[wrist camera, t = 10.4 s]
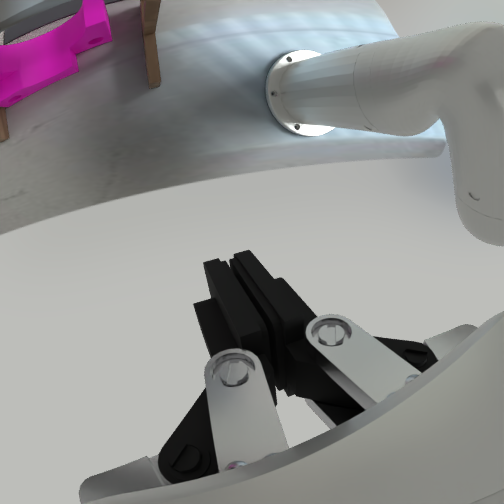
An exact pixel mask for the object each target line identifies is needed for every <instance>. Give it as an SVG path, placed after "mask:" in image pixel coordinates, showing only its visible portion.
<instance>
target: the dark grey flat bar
mask: <svg viewBox="0 0 504 504" xmlns="http://www.w3.org/2000/svg"><path fill="white" fill-rule="evenodd" d="M117 1H121V0H104V3H105V4H109V3H113V2H117ZM82 3H83V0H71V1H68V2H65V3H63V4H60V5H57V6H55V7H52V8H50V9H47V10H45V11H43V12H40V13H38V14H36V15H34V16H32V17H29V18H27V19H25V20H23V21H21V22H19V23H17V24H15V25H13V26H11V27H10V28H8V29H6V30H5V38H4V44H7V43H9V42H11V41H13V40H15V39H17V38H19V37H20V36H23V35H25V34H27V33H29V32H31V31H33V30H35V29H37V28H40V27H42V26H44V25H47V24H49V23H51V22H54V21H56V20H59V19H62V18H64V17H67V16H70V15H73V14H76V13H77V12H78V11H79V10H80V8H81V6H82Z"/></svg>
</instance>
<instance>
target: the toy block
mask: <svg viewBox="0 0 504 504" xmlns="http://www.w3.org/2000/svg"><path fill="white" fill-rule="evenodd" d="M110 41H112V36H111V30H110V24H109V17H108V14H107V10H106V7H105V3H104V0H83V3H82V6H81V8H80V10H79V11H78V12H77V13H76V14H75V15H74V16H73V17H72V18H71V19H70V20H68V21H67V22H65V23H64V24H62V25H61V26H59V27H57V28H56V29H54V30H52V31H50V32H48V33H46V34H43V35H41V36H39V37H36V38H34V39H31V40H28V41H25V42H21V43H17V44H12V45H0V107H10V106H11V105H13V104H15V103H16V102H18V101H20V100H22V99H23V98H25V97H27V96H29V95H31V94H32V93H34V92H36V91H38V90H40V89H42V88H44V87H46V86H48V85H50V84H52V83H54V82H56V81H58V80H60V79H62V78H65V77H67V76H69V75H71V74H74V73H76V72H78V71H79V69H78V64H77V58H76V54H78V53H80V52H83V51H85V50H88V49H90V48H93V47H96V46H98V45H101V44H104V43H107V42H110Z"/></svg>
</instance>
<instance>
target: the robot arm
mask: <svg viewBox="0 0 504 504" xmlns="http://www.w3.org/2000/svg"><path fill="white" fill-rule="evenodd" d="M286 59H287V60H288V61H287V60H286ZM265 90H266V99H267V102H268V106H269V108H270V110H271V112H272V114H273V115H274V117H275V118H276V120H277V121H278V122H279V123H280V124H281V125H282V126H283V127H285V128H286V129H288V130H289V131H291V132H293V133H296V134H299V135H303V136H319V135H322V134H325V133H327V132H329V131H331V130H332V129H333V128H334V127H337V128H346V129H355V130H363V131H370V132H377V133H383V134H390V135H396V136H413V135H417V134H420V133H422V132H424V131H425V130H427V129H428V128H430V127H431V126H432V125H433V124H434V123H435V122H436V121H437V120H438V119H439V118H440V119H441V121H442V124H443V126H444V130H445V134H446V139H447V143H448V146H449V152H450V158H451V165H452V173H453V182H454V191H455V199H456V206H457V210H458V214H459V217H460V219H461V221H462V223H463V225H464V226H465V228H466V229H467V230H468V231H469V232H470V233H471V234H472V235H473V236H475V237H476V238H478V239H479V240H481V241H483V242H486V243H489V244H492V245H497V246H504V25H502V24H499V23H494V22H473V23H465V24H460V25H456V26H452V27H447V28H443V29H439V30H436V31H432V32H426V33H422V34H418V35H413V36H408V37H402V38H396V39H391V40H385V41H379V42H374V43H369V44H364V45H359V46H354V47H350V48H345V49H341V50H337V51H333V52H329V53H325V54H320V53H317V52H314V51H309V50H297V51H293V52H290V53H288V54H285V55H284V56H282V57H281V58H279V59H278V60H277V61H276V62H275V63H274V64H273V66H272V67H271V69H270V71H269V73H268V76H267V79H266V87H265ZM271 92H272V93H273V96H272V95H271ZM294 126H295V128H294ZM229 262H230V267H229V265H228V264H227V262H226V261H222V262H221V261H220V260H219V258H217V259H214V260H211V261H207V262H204V263H203V264H204V269H205V274H206V278H207V282H208V286H209V291H210V295H211V299H208V300H204V301H201V302H197V303H194V304H193V305H194V308H195V312H196V315H197V318H198V322H199V325H200V328H201V331H202V334H203V337H204V340H205V343H206V346H207V349H208V351H209V354H210V357H211V359H210V360H209V361H208V363H207V365H206V367H205V372H204V373H205V374H204V376H205V384H206V388H205V389H204V391H203V392H202V393H201V395H200V396H199V398H198V399H197V400H196V402H195V403H194V405H193V406H192V408H191V409H190V411H189V412H188V413H187V415H186V416H185V417H184V419H183V420H182V421H181V423H180V424H179V426H178V427H177V428H176V430H175V431H174V432H173V434H172V435H171V437H170V438H169V439H168V441H167V442H166V443H165V445H164V446H163V447H162V449H161V451H160V453H159V454H158V455H156V456H154V457H152V458H148V457H147V456H145V457H143V458H140V459H138V460H136V461H133V462H131V463H128V464H125V465H123V466H120V467H117V468H114V469H112V470H109V471H106V472H103V473H100V474H97V475H94V476H91V477H89V478H87V479H86V480H85V481H84V482H83V483H82V484H81V486H80V490H79V497H80V502H81V504H504V311H503V312H501V313H499V314H497V315H495V316H494V317H492V318H490V319H489V320H487V321H486V322H485V323H484V324H482V325H481V326H480V327H479V328H477V327H475V326H473V325H468V324H465V325H461V326H458V327H456V328H454V329H451V330H449V331H447V332H444V333H442V334H439V335H437V336H434V337H432V338H429V339H426V340H424V343H423V344H422V343H419V342H414V341H405V340H397V339H389V338H381V337H374V336H371V335H370V334H369V333H367V332H366V331H365V330H363V329H362V328H361V327H359V326H358V325H356V324H355V323H354V322H352V321H351V320H350V319H348V318H346V317H344V316H340V315H334V314H329V315H322V316H319V317H317V316H316V315H315V314H314V312H313V311H312V310H311V309H310V308H309V307H308V306H307V305H306V303H305V302H304V301H303V300H302V299H301V298H300V297H299V296H298V295H297V293H296V292H295V291H294V290H293V289H292V288H291V287H290V286H289V284H288V283H287V282H286V281H285V280H284V279H283V278H277V279H274V278H273V277H272V276H271V275H270V274H269V272H268V271H267V270H266V269H265V268H264V266H263V265H262V264H261V263H260V262H259V260H258V259H257V258H256V257H255V256H254V255H253V253H252V252H251V251H250V250H246V251H243V252H239V253H236V254H234V258H233V259H230V260H229ZM230 268H231V269H230ZM275 386H276V387H277V389H278V390H279V391H280V390H282V389H284V390H285V392H286V394H287V396H288V397H289V396H292V395H294V394H295V395H296V396H298V397H302V398H305V401H306V403H307V404H308V406H309V407H310V408H311V409H312V410H313V411H314V412H315V413H316V414H317V415H318V416H319V418H320V419H321V420H322V421H323V422H324V423H325V424H326V425H327V426H328V427H329V428H330V429H331V430H329V431H327V432H325V433H323V434H321V435H318V436H316V437H314V438H312V439H310V440H308V441H306V442H303V443H301V444H299V445H297V446H294V447H292V448H289V447H288V444H287V441H286V438H285V435H284V432H283V429H282V426H281V423H280V420H279V417H278V414H277V411H276V408H275V407H276V405H277V399H276V388H275Z"/></svg>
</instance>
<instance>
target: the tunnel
mask: <svg viewBox="0 0 504 504" xmlns="http://www.w3.org/2000/svg"><path fill="white" fill-rule="evenodd" d="M68 1H71V0H0V33H1V32H2V31H4V30H6V29H8V28H10V27H11V26H13V25H15V24H17V23H19V22H21V21H23V20H25V19H27V18H29V17H32V16H34V15H36V14H38V13H40V12H43V11H45V10H47V9H50V8H52V7H55V6H57V5H60V4H63V3H65V2H68ZM160 3H161V0H140V10H141V22H142V33H143V43H144V52H145V60H146V68H147V76H148V83H149V89H150V88H155V87H159V86H160V83H161V77H160V69H159V62H158V54H157V45H156V36H155V30H156V24H157V19H158V13H159V8H160ZM7 139H9V132H8V126H7V119H6V111H5V107H0V142H3V141H5V140H7Z"/></svg>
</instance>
